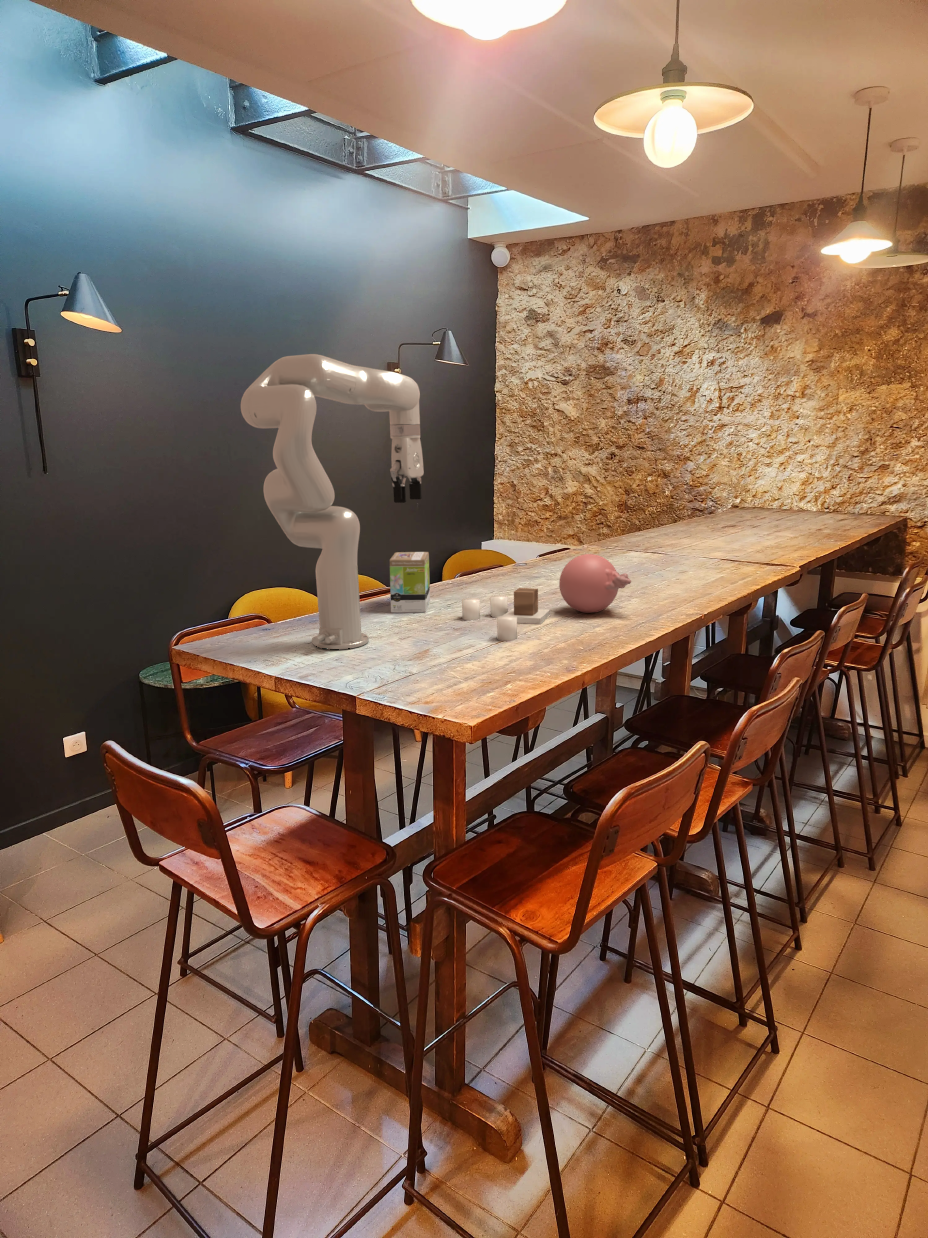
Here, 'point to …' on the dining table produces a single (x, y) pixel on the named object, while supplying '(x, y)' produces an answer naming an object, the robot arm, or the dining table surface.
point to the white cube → (470, 609)
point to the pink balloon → (590, 583)
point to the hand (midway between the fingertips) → (408, 500)
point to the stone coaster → (534, 619)
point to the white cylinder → (498, 605)
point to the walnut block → (526, 601)
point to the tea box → (409, 582)
